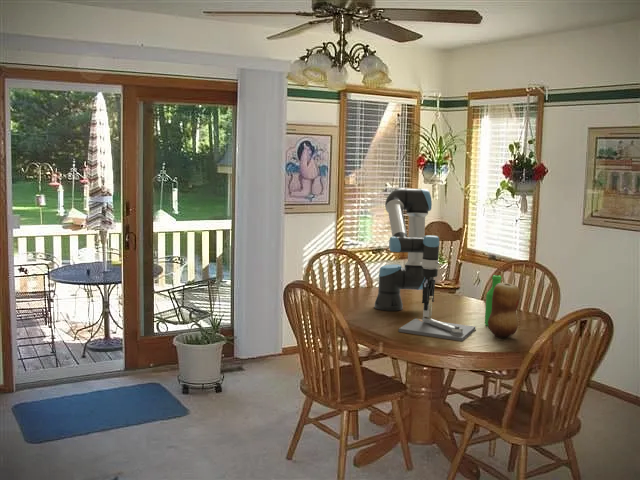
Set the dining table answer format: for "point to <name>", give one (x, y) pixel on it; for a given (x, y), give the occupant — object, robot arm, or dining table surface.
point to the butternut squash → (504, 310)
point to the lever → (440, 324)
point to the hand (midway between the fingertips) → (427, 315)
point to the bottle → (489, 297)
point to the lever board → (435, 330)
